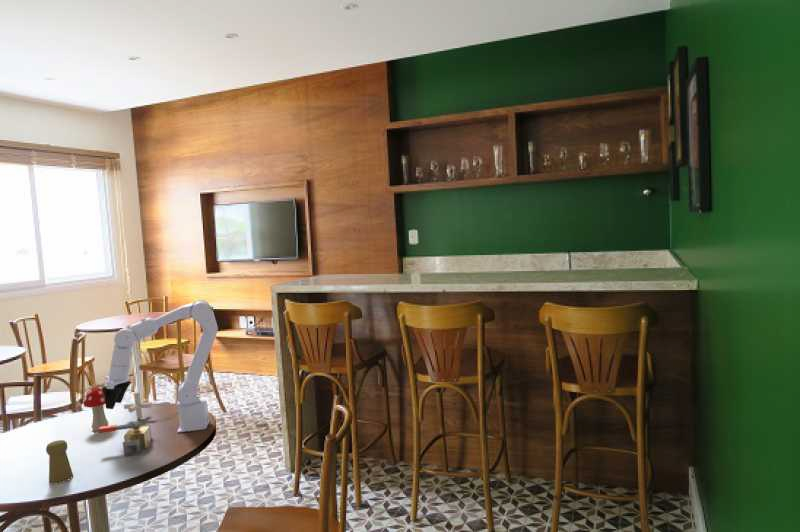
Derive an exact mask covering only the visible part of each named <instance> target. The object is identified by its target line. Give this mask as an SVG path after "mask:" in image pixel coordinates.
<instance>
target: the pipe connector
mask: <svg viewBox="0 0 800 532" xmlns="http://www.w3.org/2000/svg"><path fill="white" fill-rule="evenodd" d="M133 397H134V398H133V399H134V403H125V404H124V405H123V409H124V410H128V413H133V412H135V413H136V420H137V419H140V420H142V419H143V412H142V409H150V408H152V407H153V403H152V402H149V401H148V399H147V398H143V399H142V400H141V397H140V391H136V392H133ZM141 418H142V419H141Z"/></svg>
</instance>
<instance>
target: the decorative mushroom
mask: <svg viewBox="0 0 800 532" xmlns="http://www.w3.org/2000/svg"><path fill="white" fill-rule="evenodd" d="M104 405H106V403H105V396H104V393H103V390H102V387H101V386H94V387H92V388H90V389H89V390H88V391H87V393H86V395H85V398H84V399H83V406H84V407H86V408H91V411H92V422H91V423H92V424H91V429H92V431H93V432H98V429H99V428H100V427H104V426H109V421H108V419H107V416H106V415H105V414H106V413H105V409H104V408H105V407H104Z"/></svg>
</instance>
